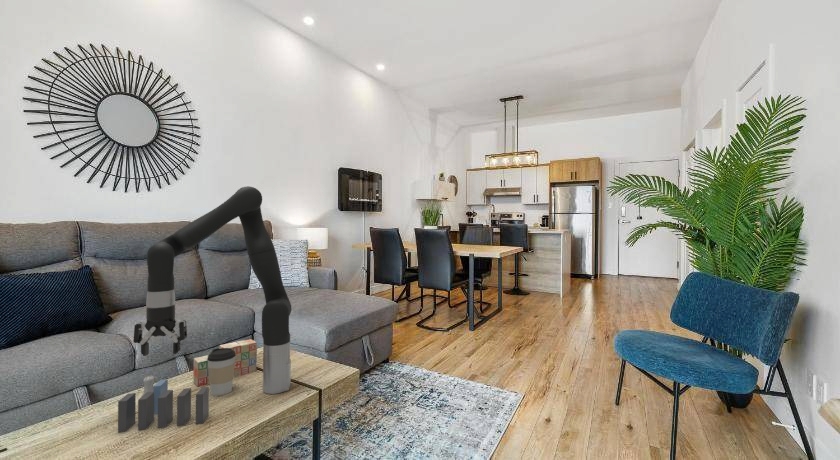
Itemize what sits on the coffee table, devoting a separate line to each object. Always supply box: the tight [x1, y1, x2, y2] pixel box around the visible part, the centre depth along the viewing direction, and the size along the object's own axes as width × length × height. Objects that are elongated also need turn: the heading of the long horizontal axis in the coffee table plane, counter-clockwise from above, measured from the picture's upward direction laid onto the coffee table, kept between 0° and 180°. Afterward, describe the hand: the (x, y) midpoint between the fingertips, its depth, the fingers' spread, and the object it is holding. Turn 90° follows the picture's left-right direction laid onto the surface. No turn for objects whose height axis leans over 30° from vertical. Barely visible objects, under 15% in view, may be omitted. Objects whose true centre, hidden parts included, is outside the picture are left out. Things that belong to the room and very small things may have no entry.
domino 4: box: [176, 388, 192, 427], centre depth 109 cm, size 2×5×9 cm, turn 14°
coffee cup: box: [207, 347, 236, 397], centre depth 129 cm, size 9×9×15 cm
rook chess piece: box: [140, 375, 155, 398], centre depth 122 cm, size 4×4×8 cm
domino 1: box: [117, 392, 137, 434], centre depth 105 cm, size 2×5×9 cm, turn 14°
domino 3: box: [157, 389, 174, 429], centre depth 108 cm, size 2×5×9 cm, turn 14°
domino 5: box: [195, 386, 210, 425], centre depth 110 cm, size 2×5×9 cm, turn 14°
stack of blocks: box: [192, 338, 258, 387], centre depth 142 cm, size 21×6×12 cm, turn 135°
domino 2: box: [137, 391, 155, 431], centre depth 107 cm, size 2×5×9 cm, turn 14°
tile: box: [153, 378, 169, 416], centre depth 115 cm, size 2×5×9 cm, turn 14°
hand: (160, 354), depth 115 cm, fingers open, 8 cm apart
